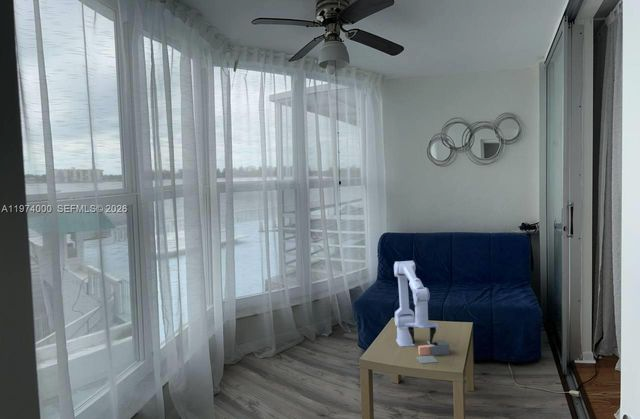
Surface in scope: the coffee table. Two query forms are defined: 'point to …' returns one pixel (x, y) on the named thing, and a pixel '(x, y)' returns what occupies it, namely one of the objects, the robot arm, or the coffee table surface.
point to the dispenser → (439, 348)
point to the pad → (427, 359)
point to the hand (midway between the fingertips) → (422, 343)
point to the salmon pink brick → (424, 350)
